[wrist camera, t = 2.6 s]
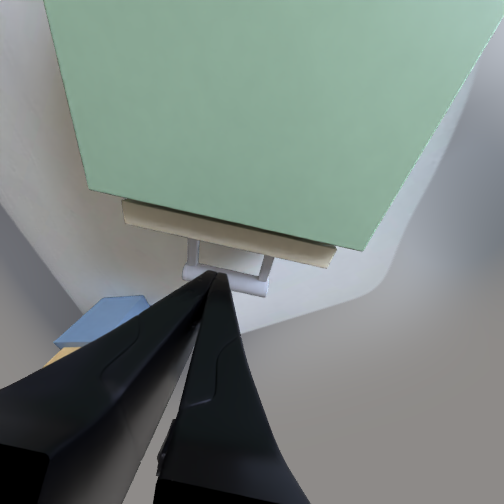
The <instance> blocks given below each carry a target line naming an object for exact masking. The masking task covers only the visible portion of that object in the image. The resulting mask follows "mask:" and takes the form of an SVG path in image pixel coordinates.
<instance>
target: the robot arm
mask: <svg viewBox="0 0 504 504" xmlns="http://www.w3.org/2000/svg"><path fill="white" fill-rule="evenodd" d="M240 336H241V334H240V330H239V325H238V321H237V316H236V312H235V307H234V303H233V298H232V293H231V289H230V284H229V280H228V275H227V274H226V273H222V272H218V273H217V271H213V270H207V271H205V272H204V273H202V274H201V275H199V276H197V277H196V278H194V279H193V280H191V281H190V282H188V283H186V284H185V285H183V286H182V287H180V288H179V289H177V290H175V291H174V292H172V293H171V294H169V295H168V296H166V297H164V298H163V299H161V300H160V301H158V302H156V303H155V304H153V305H152V306H150V307H149V308H147V309H145V310H144V311H142V312H141V313H139V315H136V316H134V317H133V318H131V319H130V320H128V321H126V322H125V323H123V324H121V325H120V326H118V327H116V328H115V329H113V330H111V331H110V332H108V333H106V334H105V335H103V336H101V337H99V338H97V339H96V340H94V341H92V342H90V343H88V344H87V345H85V346H83V347H81V348H79V349H77V350H75V351H73V352H72V353H70V354H68V355H66V356H64V357H62V358H60V359H58V360H57V361H55V362H53V363H51V364H49V365H47V366H45V367H43V368H42V369H40V370H38V371H36V372H34V373H32V374H30V375H28V376H27V377H25V378H23V379H21V380H19V381H17V382H15V383H13V384H11V385H9V386H7V387H5V388H2V389H0V504H122V503H123V501H124V498H125V496H126V494H127V492H128V490H129V487H130V485H131V483H132V481H133V479H134V476H135V474H136V472H137V470H138V467H139V465H140V463H141V462H140V461H141V460H142V458H143V457H144V454H145V452H146V450H147V448H148V446H149V443H150V441H151V439H152V437H153V435H154V432H155V430H156V428H157V426H158V424H159V421H160V419H161V417H162V415H163V413H164V410H165V408H166V406H167V404H168V402H169V399H170V397H171V395H172V393H173V391H174V389H175V386H176V384H177V382H178V380H179V378H180V375H181V373H182V371H183V369H184V367H185V364H186V362H187V360H188V358H189V356H190V354H191V351H192V349H193V347H194V351H193V354H192V358H191V362H190V366H189V370H188V374H187V378H186V382H185V386H184V390H183V394H182V398H181V402H180V406H179V412H178V414H177V417H176V419H173V421H172V423H171V426H170V429H169V431H168V434H167V436H166V438H165V440H164V443H163V445H162V447H161V449H160V451H159V453H158V456H157V460H158V467H157V468H158V469H157V473H156V476H159V477H158V480H157V483H156V487H155V494H154V500H153V504H310V502H309V500H308V499H307V497H306V495H305V494H304V492H303V491H302V489H301V487H300V486H299V484H298V483H297V481H296V479H295V478H294V476H293V475H292V473H291V471H290V469H289V468H288V466H287V464H286V462H285V460H284V459H283V456H282V454H281V452H280V450H279V448H278V446H277V443H276V441H275V439H274V436H273V434H272V431H271V428H270V426H269V423H268V420H267V417H266V414H265V412H264V409H263V406H262V404H261V400H260V398H259V395H258V392H257V389H256V387H255V384H254V381H253V378H252V375H251V372H250V369H249V366H248V363H247V359H246V355H245V351H244V348H243V343H242V338H241V337H240ZM194 345H195V346H194Z"/></svg>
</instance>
